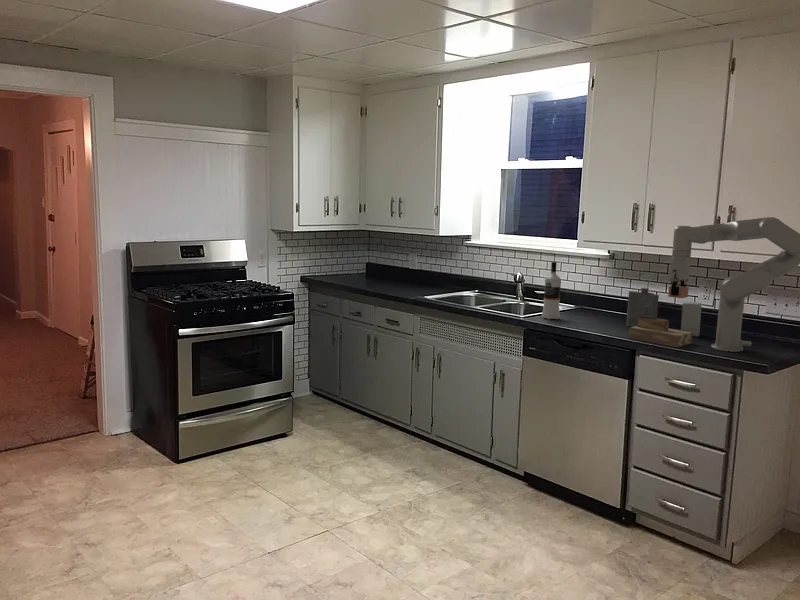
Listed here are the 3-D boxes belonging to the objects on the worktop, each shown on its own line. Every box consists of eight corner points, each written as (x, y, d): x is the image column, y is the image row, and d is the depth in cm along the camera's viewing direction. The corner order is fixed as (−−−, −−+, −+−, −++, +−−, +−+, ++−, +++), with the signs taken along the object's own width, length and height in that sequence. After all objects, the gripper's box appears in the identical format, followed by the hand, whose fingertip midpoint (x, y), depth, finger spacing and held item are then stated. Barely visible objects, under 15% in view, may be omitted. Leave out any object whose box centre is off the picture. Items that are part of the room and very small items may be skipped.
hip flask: (624, 325, 345) (627, 286, 342) (629, 324, 348) (632, 285, 345) (653, 330, 333) (656, 290, 330) (658, 330, 335) (661, 289, 332)
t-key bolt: (638, 314, 320) (639, 304, 319) (658, 317, 312) (659, 307, 312) (631, 315, 316) (632, 305, 315) (651, 318, 308) (652, 308, 308)
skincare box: (699, 334, 326) (702, 302, 324) (698, 337, 321) (701, 304, 318) (680, 332, 330) (683, 300, 328) (679, 335, 324) (682, 302, 322)
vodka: (563, 318, 359) (566, 262, 355) (551, 320, 354) (554, 262, 349) (549, 316, 367) (553, 260, 362) (538, 317, 361) (541, 261, 357)
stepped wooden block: (643, 334, 323) (645, 314, 321) (691, 343, 306) (693, 322, 304) (628, 338, 313) (630, 317, 312) (676, 347, 297) (678, 325, 295)
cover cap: (674, 295, 306) (675, 285, 305) (687, 297, 302) (688, 287, 301) (668, 296, 302) (669, 286, 301) (681, 298, 298) (682, 288, 297)
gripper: (682, 252, 307) (679, 292, 310) (663, 254, 296) (660, 295, 299) (698, 254, 302) (695, 294, 305) (680, 255, 290) (677, 297, 293)
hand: (678, 294), depth 302 cm, fingers closed on cover cap, 6 cm apart
